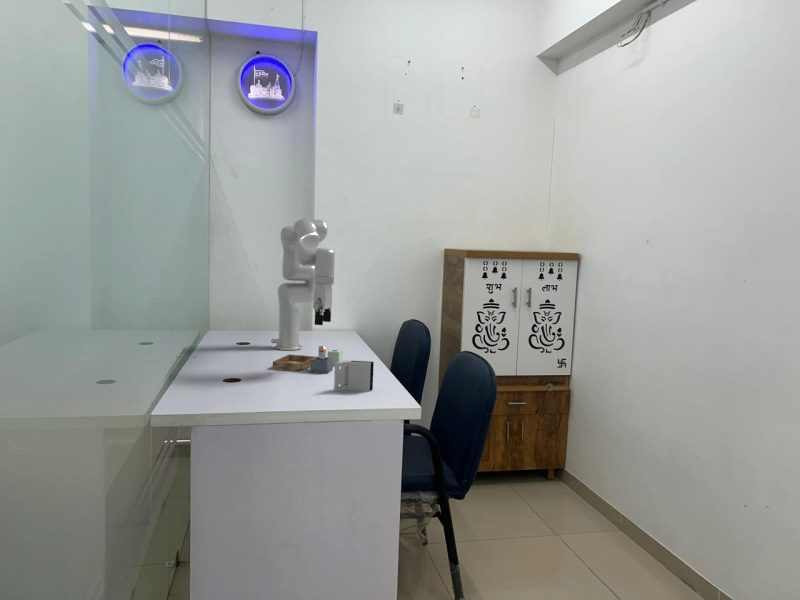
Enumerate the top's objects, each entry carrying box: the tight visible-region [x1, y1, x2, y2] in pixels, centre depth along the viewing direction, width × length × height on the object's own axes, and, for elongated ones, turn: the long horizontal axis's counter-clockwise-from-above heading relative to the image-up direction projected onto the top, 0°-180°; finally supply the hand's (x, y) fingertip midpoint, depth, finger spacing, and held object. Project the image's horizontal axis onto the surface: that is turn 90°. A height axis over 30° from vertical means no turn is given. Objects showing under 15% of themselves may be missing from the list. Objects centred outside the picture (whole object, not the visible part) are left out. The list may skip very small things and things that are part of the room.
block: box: [309, 356, 334, 374], centre depth 226 cm, size 7×7×5 cm
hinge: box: [333, 359, 375, 392], centre depth 200 cm, size 14×5×10 cm, turn 101°
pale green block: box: [327, 349, 344, 367], centre depth 240 cm, size 5×5×6 cm
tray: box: [272, 354, 316, 372], centre depth 233 cm, size 13×17×3 cm
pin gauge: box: [317, 345, 327, 360], centre depth 226 cm, size 3×3×10 cm
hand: (322, 323), depth 225 cm, fingers open, 9 cm apart
